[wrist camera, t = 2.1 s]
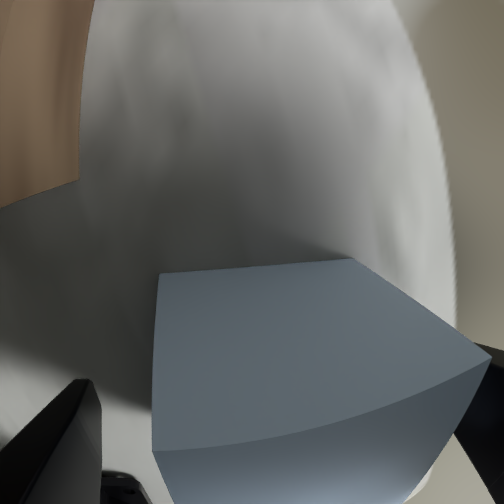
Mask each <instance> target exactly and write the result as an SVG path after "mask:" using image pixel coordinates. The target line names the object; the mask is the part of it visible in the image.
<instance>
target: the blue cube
mask: <svg viewBox="0 0 504 504" xmlns="http://www.w3.org/2000/svg"><path fill="white" fill-rule="evenodd" d="M491 359H492V356H490V355H489V354H488V353H486V352H485V351H484V350H483V349H481V348H480V347H479V346H477V345H476V344H475V343H473V342H472V341H471V340H469V339H468V338H466V337H465V336H464V335H463V334H461V333H460V332H458V331H457V330H456V329H454V328H453V327H452V326H450V325H449V324H448V323H446V322H445V321H443V320H442V319H441V318H439V317H438V316H436V315H435V314H434V313H432V312H431V311H430V310H428V309H427V308H425V307H424V306H422V305H421V304H420V303H418V302H417V301H415V300H414V299H412V298H411V297H410V296H408V295H407V294H405V293H404V292H402V291H401V290H400V289H398V288H397V287H395V286H394V285H392V284H391V283H389V282H388V281H386V280H385V279H383V278H382V277H380V276H379V275H377V274H376V273H375V272H373V271H372V270H370V269H369V268H367V267H366V266H364V265H363V264H361V263H360V262H358V261H356V260H355V259H353V258H348V259H337V260H325V261H314V262H303V263H291V264H279V265H267V266H254V267H242V268H229V269H216V270H203V271H190V272H176V273H162V274H159V282H158V293H157V305H156V318H155V332H154V350H153V374H152V452H153V455H154V457H155V460H156V462H157V465H158V467H159V470H160V472H161V475H162V477H163V479H164V482H165V484H166V486H167V488H168V491H169V493H170V495H171V497H172V499H173V502H174V504H402V503H403V502H404V501H405V500H406V498H407V497H408V496H409V495H410V494H411V492H412V491H413V490H414V489H415V487H416V486H417V485H418V483H419V482H420V481H421V480H422V478H423V477H424V476H425V474H426V473H427V471H428V470H429V469H430V467H431V466H432V465H433V463H434V462H435V460H436V459H437V457H438V456H439V454H440V453H441V451H442V450H443V448H444V447H445V445H446V444H447V442H448V441H449V439H450V437H451V436H452V434H453V433H454V431H455V429H456V428H457V426H458V424H459V423H460V421H461V419H462V417H463V416H464V414H465V412H466V410H467V408H468V406H469V405H470V403H471V401H472V399H473V397H474V395H475V393H476V391H477V389H478V387H479V385H480V383H481V381H482V379H483V377H484V375H485V372H486V370H487V368H488V366H489V363H490V361H491Z"/></svg>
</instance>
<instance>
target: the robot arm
mask: <svg viewBox="0 0 504 504" xmlns="http://www.w3.org/2000/svg"><path fill="white" fill-rule="evenodd" d="M473 343H474V342H473ZM475 344H476V345H477V346H479V347H480V348H481V349H483V350H484V351H485V352H486V353H488V354H489V355H490V356H492V359H491V361H490V363H489V366H488V368H487V370H486V372H485V375H484V377H483V379H482V381H481V383H480V385H479V387H478V389H477V391H476V393H475V395H474V397H473V399H472V401H471V403H470V405H469V406H468V408H467V410H466V412H465V414H464V416H463V417H462V419H461V421H460V423H459V424H458V426H457V428H456V429H455V431H454V435H455V437H456V438H457V440H458V441H459V443H460V444H461V446H462V448H463V449H464V451H465V452H466V454H467V455H468V457H469V459H470V461H471V462H472V464H473V465H474V467H475V469H476V470H477V472H478V474H479V475H480V477H481V479H482V480H483V482H484V484H485V485H486V487H487V489H488V491H489V493H490V495H491V496H492V498H493V500H494V502H495V503H496V504H504V351H503V350H499V349H495V348H492V347H489V346H485V345H481V344H477V343H475ZM101 471H102V409H101V403H100V400H99V398H98V395H97V393H96V390H95V387H94V385H93V382H92V381H91V380H90V379H75V380H73V381H72V382H71V383H70V384H69V385H68V386H67V387H66V388H65V389H64V390H63V391H62V392H60V393H59V394H58V395H57V396H56V397H55V398H54V399H53V400H52V401H51V402H50V403H49V404H48V405H47V406H46V407H45V408H44V409H43V410H42V411H41V412H40V413H38V414H37V415H36V416H35V417H34V418H33V419H32V420H31V421H30V422H29V423H28V424H27V425H26V426H25V427H24V428H23V429H22V430H21V431H20V432H19V433H18V434H17V435H16V436H15V437H14V438H13V439H12V440H11V441H10V442H9V443H8V444H7V445H6V446H5V447H4V448H3V449H2V450H1V451H0V504H152V502H151V500H150V498H149V497H148V495H147V493H146V492H145V490H144V488H143V486H142V484H141V483H140V482H138V481H137V480H134V479H129V478H107V477H101Z"/></svg>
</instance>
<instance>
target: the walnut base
mask: <svg viewBox="0 0 504 504" xmlns="http://www.w3.org/2000/svg"><path fill="white" fill-rule="evenodd" d="M94 1H95V0H0V208H2V207H4V206H6V205H9V204H11V203H14V202H17V201H19V200H22V199H24V198H27V197H30V196H32V195H35V194H38V193H41V192H43V191H46V190H49V189H52V188H55V187H58V186H61V185H64V184H67V183H70V182H73V181H76V180H79V125H80V104H81V90H82V79H83V69H84V60H85V53H86V45H87V39H88V33H89V27H90V21H91V16H92V11H93V6H94Z"/></svg>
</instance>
